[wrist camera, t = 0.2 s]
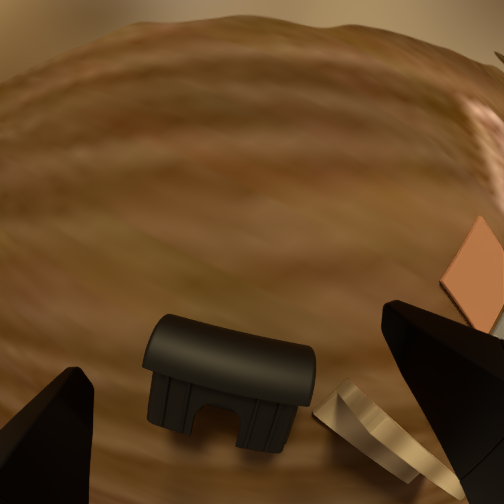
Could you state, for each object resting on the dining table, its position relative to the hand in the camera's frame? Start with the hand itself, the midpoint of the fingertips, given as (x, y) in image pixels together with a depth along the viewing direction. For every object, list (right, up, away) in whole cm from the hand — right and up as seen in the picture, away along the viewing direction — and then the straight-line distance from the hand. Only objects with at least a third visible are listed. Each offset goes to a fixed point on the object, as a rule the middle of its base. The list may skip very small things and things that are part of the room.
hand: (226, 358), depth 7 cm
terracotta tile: (+24, 0, +14) cm, 28 cm away
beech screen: (+13, -14, +13) cm, 23 cm away
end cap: (-1, -6, +14) cm, 16 cm away
